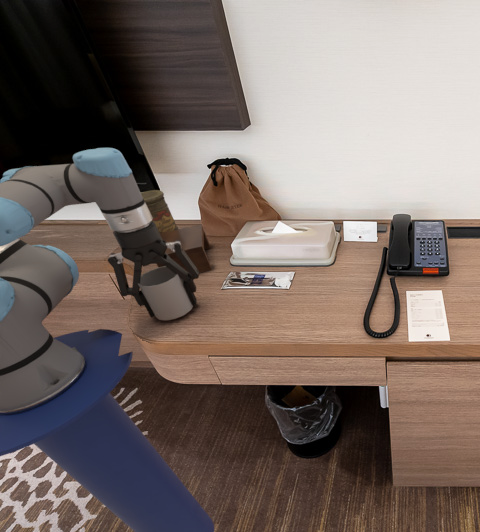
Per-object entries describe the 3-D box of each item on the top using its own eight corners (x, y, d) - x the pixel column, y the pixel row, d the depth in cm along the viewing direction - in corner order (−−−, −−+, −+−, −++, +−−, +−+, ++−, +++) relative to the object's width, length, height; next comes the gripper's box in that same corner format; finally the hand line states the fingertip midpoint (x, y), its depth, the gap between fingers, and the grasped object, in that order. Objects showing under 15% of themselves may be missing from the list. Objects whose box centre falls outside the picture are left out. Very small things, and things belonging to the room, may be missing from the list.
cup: (194, 312, 83) (178, 279, 78) (155, 324, 80) (136, 290, 75) (192, 294, 90) (178, 262, 84) (156, 305, 86) (138, 272, 81)
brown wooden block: (165, 281, 97) (153, 257, 92) (169, 255, 109) (158, 233, 105) (211, 269, 101) (201, 246, 97) (210, 246, 113) (201, 224, 109)
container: (148, 250, 112) (122, 198, 102) (171, 237, 119) (148, 188, 109) (169, 254, 109) (144, 201, 100) (191, 241, 117) (170, 190, 107)
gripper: (65, 245, 66) (121, 331, 78) (188, 221, 73) (221, 303, 86) (76, 229, 71) (126, 312, 84) (189, 209, 79) (220, 287, 91)
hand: (174, 307), depth 85 cm, fingers closed on cup, 8 cm apart
